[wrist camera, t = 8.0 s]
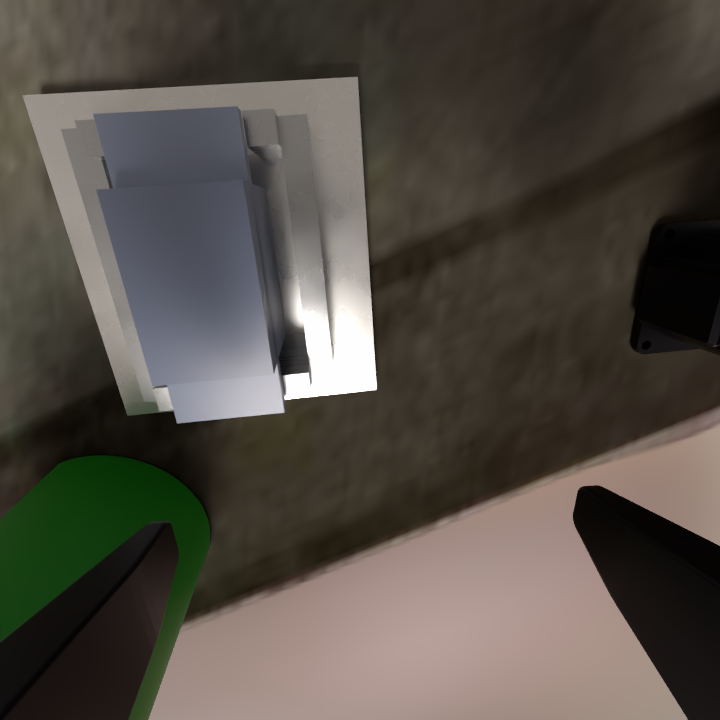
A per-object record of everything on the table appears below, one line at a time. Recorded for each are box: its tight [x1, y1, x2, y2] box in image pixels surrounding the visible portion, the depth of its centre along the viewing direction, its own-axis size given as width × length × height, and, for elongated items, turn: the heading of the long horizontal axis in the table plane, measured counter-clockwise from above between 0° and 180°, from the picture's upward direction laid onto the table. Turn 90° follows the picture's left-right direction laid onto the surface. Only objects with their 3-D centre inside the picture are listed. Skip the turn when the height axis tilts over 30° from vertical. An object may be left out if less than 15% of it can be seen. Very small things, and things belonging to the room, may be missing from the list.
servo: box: [93, 106, 286, 423], centre depth 14 cm, size 4×10×5 cm, turn 3°
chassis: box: [23, 77, 377, 416], centre depth 16 cm, size 12×13×4 cm
